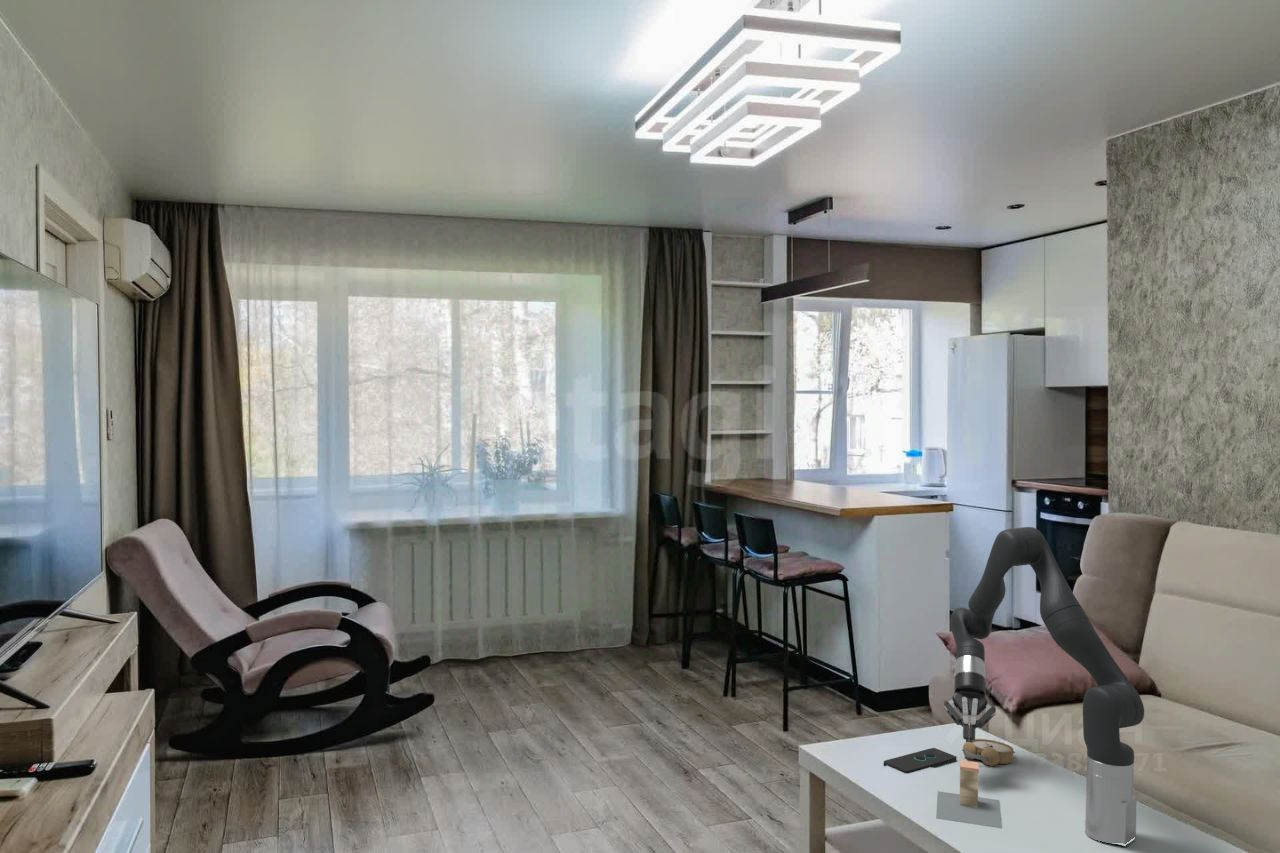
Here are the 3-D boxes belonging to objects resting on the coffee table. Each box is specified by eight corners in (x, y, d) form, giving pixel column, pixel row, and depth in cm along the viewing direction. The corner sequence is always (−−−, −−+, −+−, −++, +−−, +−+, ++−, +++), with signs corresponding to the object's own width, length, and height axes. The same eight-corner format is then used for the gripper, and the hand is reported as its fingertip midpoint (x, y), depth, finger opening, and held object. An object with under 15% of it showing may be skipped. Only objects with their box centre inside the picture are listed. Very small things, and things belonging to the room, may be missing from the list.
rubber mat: (999, 802, 219) (999, 800, 219) (1002, 830, 204) (1002, 828, 204) (937, 793, 223) (937, 791, 223) (936, 820, 208) (936, 818, 208)
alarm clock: (1022, 748, 247) (992, 750, 238) (1020, 767, 247) (990, 769, 238) (984, 736, 256) (954, 738, 247) (982, 754, 256) (952, 756, 246)
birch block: (977, 800, 218) (978, 762, 218) (977, 807, 214) (978, 769, 214) (959, 798, 220) (960, 760, 219) (959, 805, 216) (960, 766, 216)
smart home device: (958, 756, 245) (906, 770, 234) (958, 762, 245) (906, 777, 234) (933, 746, 252) (882, 760, 241) (933, 753, 252) (881, 766, 241)
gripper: (943, 667, 237) (940, 730, 225) (998, 673, 232) (998, 737, 221) (943, 682, 242) (940, 744, 230) (996, 688, 237) (997, 751, 226)
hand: (969, 740), depth 226 cm, fingers closed
